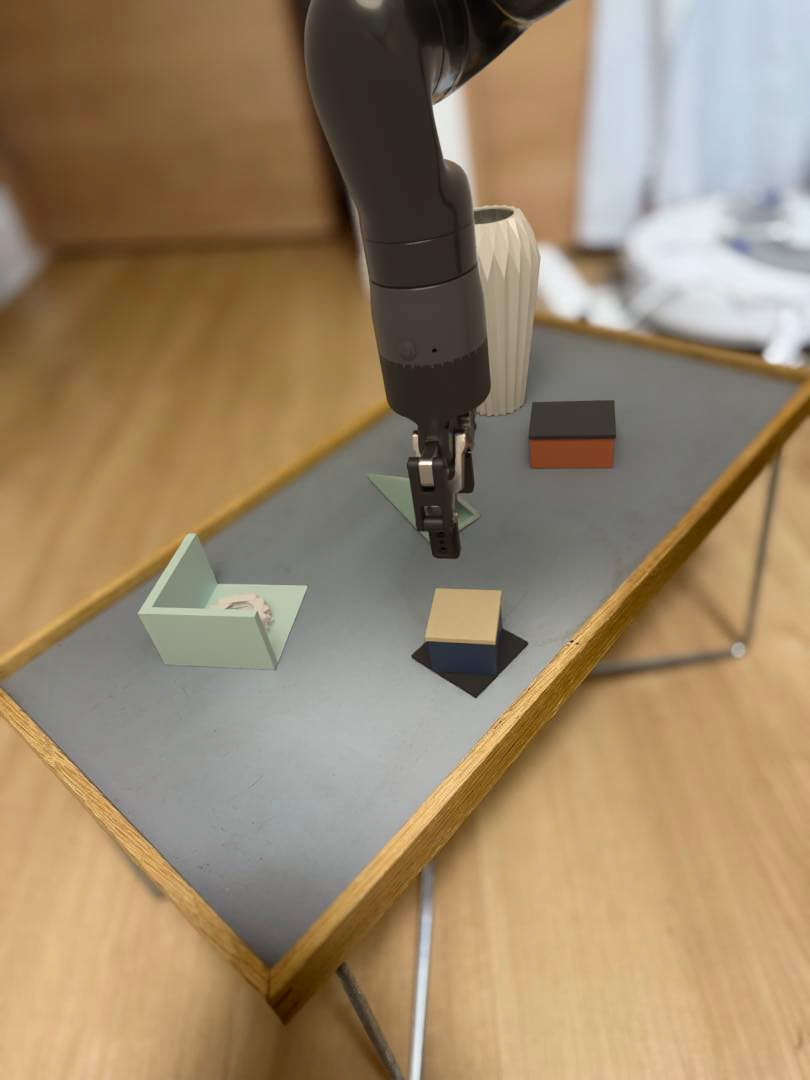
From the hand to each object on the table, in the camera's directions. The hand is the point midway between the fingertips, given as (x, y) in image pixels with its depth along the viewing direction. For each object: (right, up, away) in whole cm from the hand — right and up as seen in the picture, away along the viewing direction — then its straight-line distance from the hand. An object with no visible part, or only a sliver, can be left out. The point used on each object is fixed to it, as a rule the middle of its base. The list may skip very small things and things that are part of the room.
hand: (455, 521), depth 58 cm
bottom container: (+18, +10, +34) cm, 39 cm away
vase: (+9, +19, +46) cm, 50 cm away
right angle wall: (-22, -11, +17) cm, 30 cm away
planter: (-4, +2, +29) cm, 29 cm away
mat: (+2, -12, +10) cm, 16 cm away
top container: (+2, -12, +10) cm, 16 cm away
